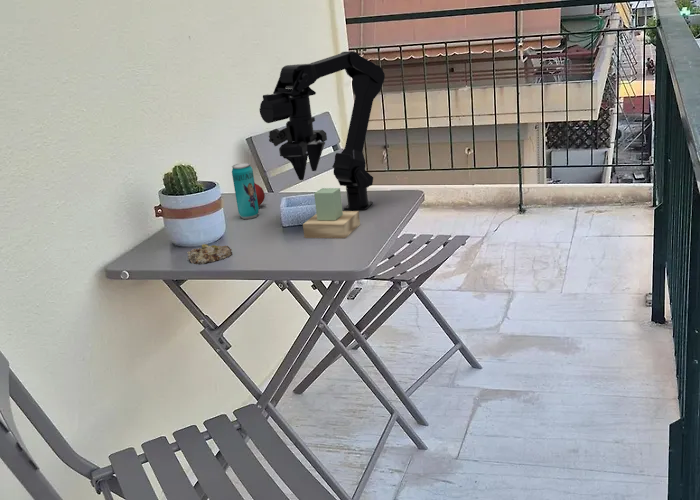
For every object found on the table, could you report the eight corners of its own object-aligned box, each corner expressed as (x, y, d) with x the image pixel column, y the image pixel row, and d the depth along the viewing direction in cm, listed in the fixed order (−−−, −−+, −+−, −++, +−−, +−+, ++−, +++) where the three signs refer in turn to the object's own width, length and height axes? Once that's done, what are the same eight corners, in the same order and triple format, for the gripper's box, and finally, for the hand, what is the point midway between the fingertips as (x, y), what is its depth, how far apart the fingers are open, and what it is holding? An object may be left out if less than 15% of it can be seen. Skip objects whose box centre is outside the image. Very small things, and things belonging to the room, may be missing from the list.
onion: (249, 205, 225) (245, 179, 222) (268, 203, 224) (264, 177, 221) (244, 210, 220) (240, 184, 217) (263, 209, 219) (259, 183, 216)
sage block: (324, 214, 194) (321, 188, 192) (342, 214, 192) (340, 188, 190) (317, 220, 189) (314, 193, 187) (335, 220, 188) (332, 192, 186)
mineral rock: (185, 259, 177) (186, 240, 184) (188, 274, 179) (189, 255, 186) (231, 254, 178) (230, 235, 185) (233, 268, 180) (233, 250, 187)
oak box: (321, 225, 199) (319, 211, 198) (360, 225, 195) (358, 211, 194) (304, 239, 189) (302, 224, 188) (345, 240, 185) (343, 224, 184)
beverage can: (249, 220, 209) (241, 168, 204) (235, 218, 213) (226, 166, 208) (263, 214, 214) (255, 162, 209) (249, 212, 217) (241, 161, 212)
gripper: (285, 110, 202) (293, 167, 207) (256, 124, 186) (265, 185, 191) (324, 108, 199) (331, 166, 204) (297, 122, 182) (305, 184, 187)
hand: (307, 175), depth 196 cm, fingers open, 9 cm apart
